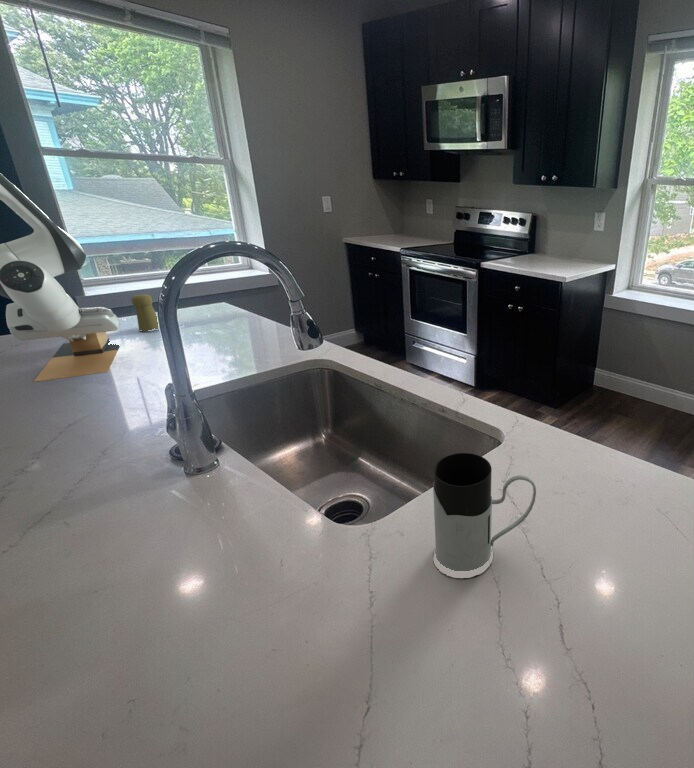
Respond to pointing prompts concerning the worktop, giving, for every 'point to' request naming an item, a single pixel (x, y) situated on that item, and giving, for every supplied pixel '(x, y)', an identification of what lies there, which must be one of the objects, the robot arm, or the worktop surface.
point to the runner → (77, 363)
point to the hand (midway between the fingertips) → (78, 338)
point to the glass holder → (466, 510)
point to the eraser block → (90, 344)
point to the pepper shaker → (145, 312)
